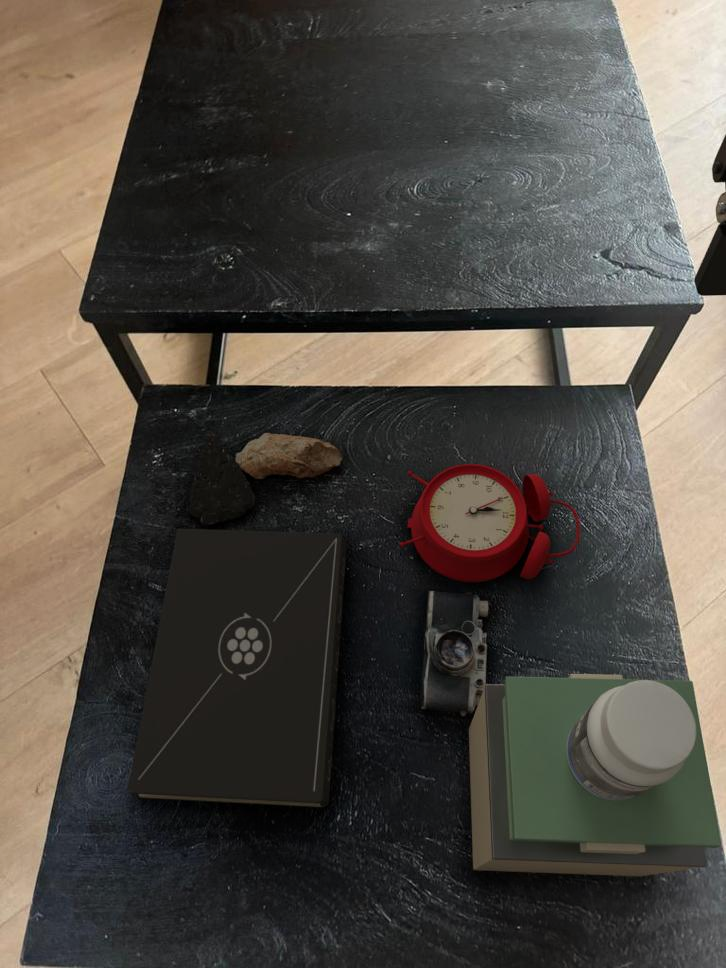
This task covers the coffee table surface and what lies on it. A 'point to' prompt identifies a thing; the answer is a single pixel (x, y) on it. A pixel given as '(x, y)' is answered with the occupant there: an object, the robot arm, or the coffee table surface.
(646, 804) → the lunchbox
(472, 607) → the camera
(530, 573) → the alarm clock
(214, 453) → the arrowhead
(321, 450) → the tan elongated rock
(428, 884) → the coffee table surface
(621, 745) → the pill bottle
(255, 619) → the book
